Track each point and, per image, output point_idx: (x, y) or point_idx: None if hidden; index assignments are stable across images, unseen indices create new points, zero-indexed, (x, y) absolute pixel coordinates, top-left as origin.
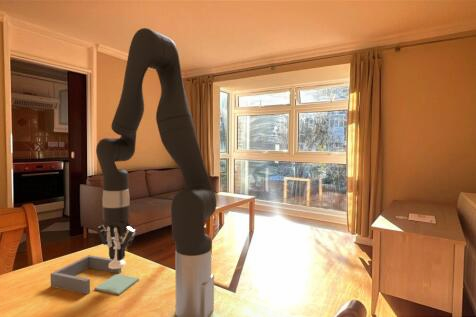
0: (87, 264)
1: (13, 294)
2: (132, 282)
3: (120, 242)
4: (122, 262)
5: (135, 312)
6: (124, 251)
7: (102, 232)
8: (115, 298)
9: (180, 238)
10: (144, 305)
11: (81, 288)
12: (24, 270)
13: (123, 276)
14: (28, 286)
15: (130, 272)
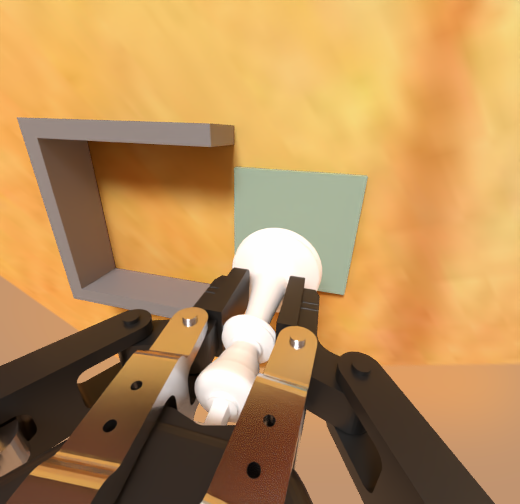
0: (71, 146)
1: (76, 317)
2: (354, 219)
3: (300, 437)
4: (307, 278)
5: (454, 364)
6: (316, 320)
7: (33, 448)
8: (341, 308)
9: None
10: (475, 333)
11: None
12: None
13: (281, 179)
14: (63, 284)
15: (279, 114)
